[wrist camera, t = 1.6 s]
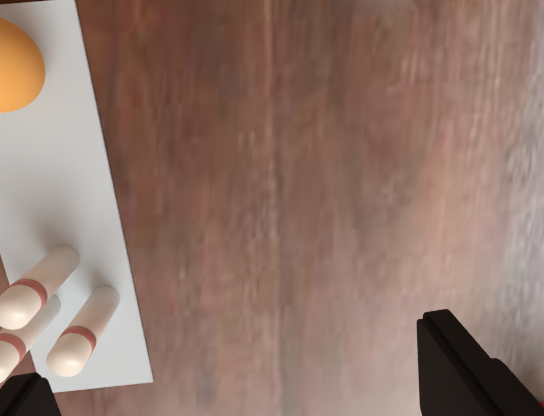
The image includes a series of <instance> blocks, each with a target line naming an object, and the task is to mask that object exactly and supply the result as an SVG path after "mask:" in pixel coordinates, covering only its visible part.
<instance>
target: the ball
mask: <svg viewBox="0 0 544 416" xmlns="http://www.w3.org/2000/svg"><path fill="white" fill-rule="evenodd" d="M44 81H45V64H44V60H43V56H42V54H41V52H40V50H39V48H38V46H37V45H36V44H35V42H34V41H33V40H32V38H31V37H30V36H29V35H28V34H27V33H26V32H25V31H23V30H22V29H21V28H19V27H18V26H16V25H15V24H13V23H11V22H9V21H7V20H5V19H2V18H0V113H5V112H12V111H15V110H18V109H21V108H23V107H25V106H27V105H28V104H30V103H31V102H32V101H33V100H34V99H35V98H36V97H37V96H38V95H39V93H40V91H41V90H42V87H43V85H44Z"/></svg>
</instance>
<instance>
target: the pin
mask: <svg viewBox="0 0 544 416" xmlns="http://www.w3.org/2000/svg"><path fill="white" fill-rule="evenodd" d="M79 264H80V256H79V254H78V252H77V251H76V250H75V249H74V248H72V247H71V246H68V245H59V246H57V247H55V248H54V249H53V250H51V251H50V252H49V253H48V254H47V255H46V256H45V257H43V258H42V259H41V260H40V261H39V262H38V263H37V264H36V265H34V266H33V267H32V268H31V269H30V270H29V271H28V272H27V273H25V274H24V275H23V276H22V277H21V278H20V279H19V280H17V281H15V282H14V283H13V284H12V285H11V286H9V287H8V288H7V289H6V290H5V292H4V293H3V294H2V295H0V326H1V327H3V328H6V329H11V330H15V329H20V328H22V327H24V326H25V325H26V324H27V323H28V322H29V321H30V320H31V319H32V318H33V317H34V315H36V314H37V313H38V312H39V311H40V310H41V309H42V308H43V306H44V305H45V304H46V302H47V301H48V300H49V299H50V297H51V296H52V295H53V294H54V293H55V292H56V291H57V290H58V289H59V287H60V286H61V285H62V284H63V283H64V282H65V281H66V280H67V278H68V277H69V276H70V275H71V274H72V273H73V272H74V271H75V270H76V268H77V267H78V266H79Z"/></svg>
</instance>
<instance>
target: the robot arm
mask: <svg viewBox="0 0 544 416" xmlns="http://www.w3.org/2000/svg"><path fill="white" fill-rule="evenodd" d="M417 345H418V371H419V397H420V409H421V413H422V416H544V408H543V406H542V405H541V404H540V403H539V402H538V401H537V400H536V399H535V398H534V396H533V395H532V394H531V393H530V392H529V391H528V390H527V389H526V387H525V386H524V385H523V384H522V383H521V382H520V381H519V380H518V378H517V377H516V376H515V375H514V374H513V373H512V372H511V371H510V369H509V368H508V367H507V366H506V365H505V364H504V363H503V362H502V361H501V360H499V359H497V358H492V359H491V358H490V357H489V356H488V355H487V353H486V352H485V351H484V350H483V349H482V348H481V346H480V345H479V344H478V343H477V342H476V341H475V339H474V338H473V337H472V336H471V335H470V334H469V332H468V331H467V330H466V329H465V328H464V327H463V325H462V324H461V323H460V322H459V321H458V320H457V318H456V317H455V316H454V315H453V314H452V313H451V312H450V311H449V310H448V309H443V310H437V311H430V312H425V313H424V314H423V319H418V320H417ZM0 416H61V413H60V411H59V408H58V405H57V402H56V400H55V397H54V394H53V392H52V389H51V386H50V384H49V381H48V380H47V379H46V378H44V377H41V375H40V374H39V373H29V374H22V375H16V376H12V377H10V378H9V379H8V380H7V381H6V382H5V384H4V385H3V386H2V387H1V389H0Z"/></svg>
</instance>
